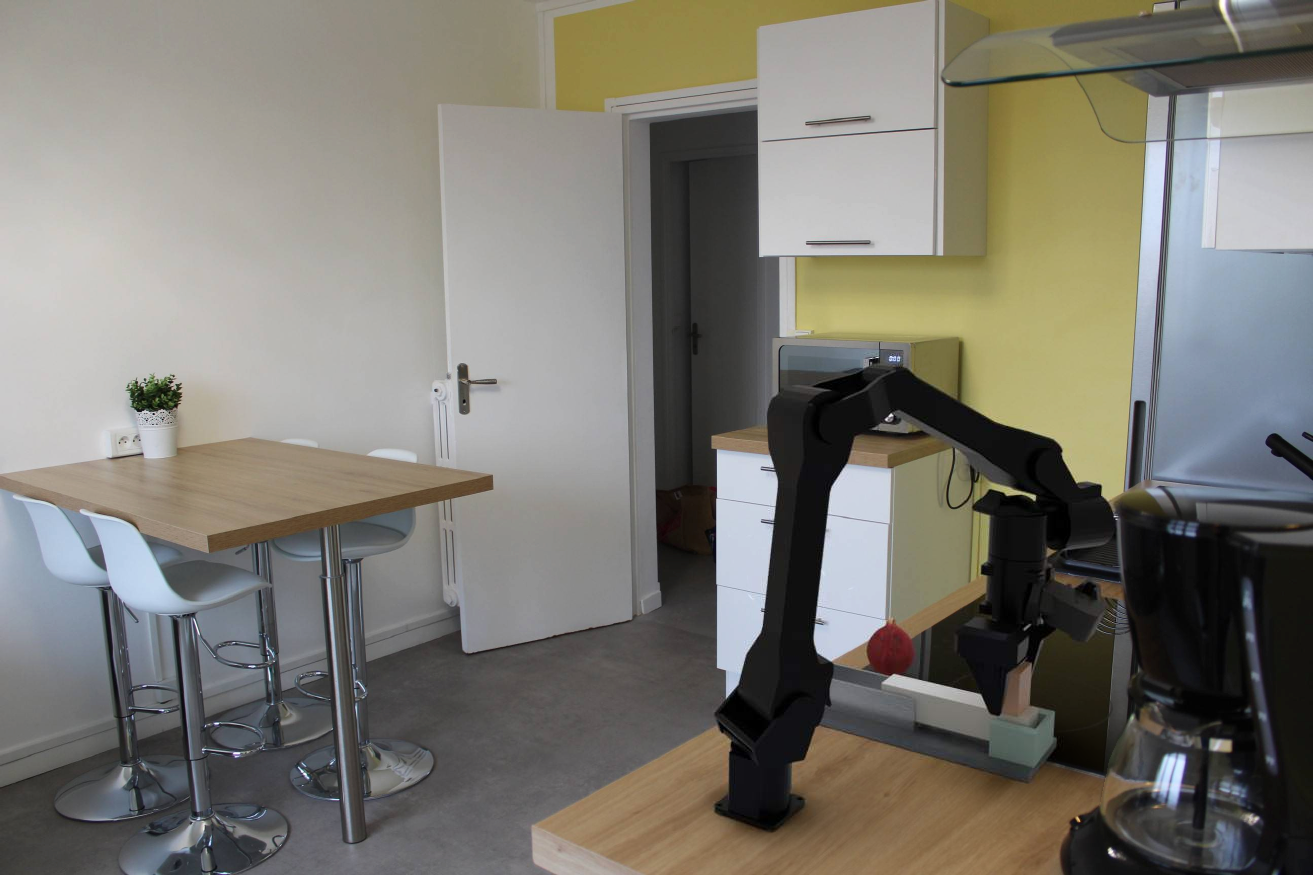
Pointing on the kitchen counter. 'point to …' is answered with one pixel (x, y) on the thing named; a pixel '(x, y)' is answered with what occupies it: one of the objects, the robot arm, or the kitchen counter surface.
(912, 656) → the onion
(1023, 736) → the socket
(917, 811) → the kitchen counter surface
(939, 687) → the sliding bolt
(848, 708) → the frame
